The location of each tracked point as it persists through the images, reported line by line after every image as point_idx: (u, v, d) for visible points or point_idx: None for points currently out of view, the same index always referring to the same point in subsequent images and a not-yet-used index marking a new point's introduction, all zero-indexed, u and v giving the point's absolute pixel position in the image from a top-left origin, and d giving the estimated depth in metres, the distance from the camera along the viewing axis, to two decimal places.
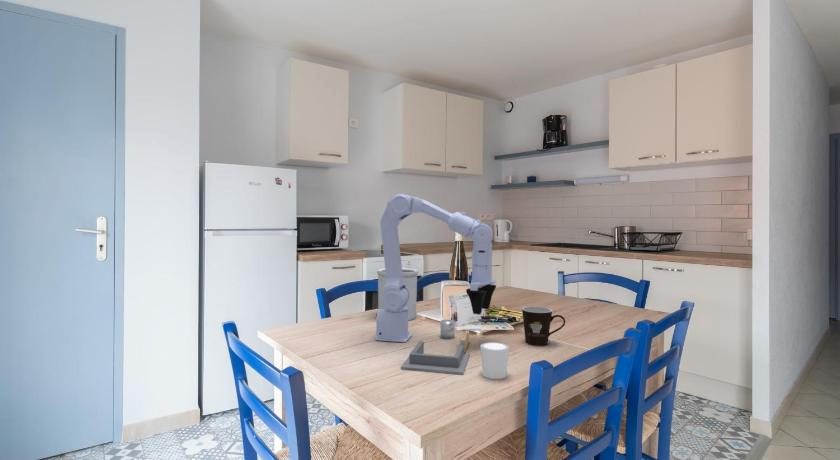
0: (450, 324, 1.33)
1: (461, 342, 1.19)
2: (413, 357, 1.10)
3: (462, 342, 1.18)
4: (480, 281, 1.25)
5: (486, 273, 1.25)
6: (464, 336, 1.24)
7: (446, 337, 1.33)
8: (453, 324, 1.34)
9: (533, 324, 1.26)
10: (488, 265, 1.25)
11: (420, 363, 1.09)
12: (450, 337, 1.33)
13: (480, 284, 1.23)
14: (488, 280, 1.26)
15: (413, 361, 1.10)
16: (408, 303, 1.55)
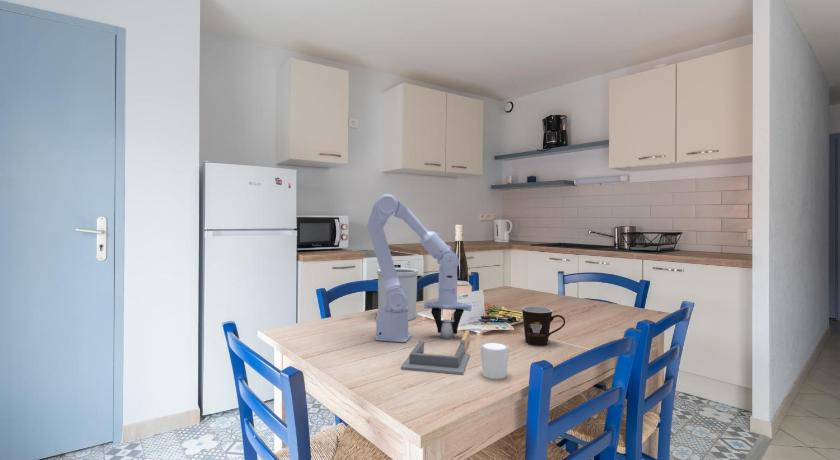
0: (450, 324, 1.33)
1: (461, 342, 1.19)
2: (413, 357, 1.10)
3: (462, 342, 1.18)
4: (438, 302, 1.35)
5: (440, 296, 1.33)
6: (464, 336, 1.24)
7: (446, 337, 1.33)
8: (453, 324, 1.34)
9: (533, 324, 1.26)
10: (455, 289, 1.33)
11: (420, 363, 1.09)
12: (450, 337, 1.33)
13: (430, 304, 1.35)
14: (441, 303, 1.33)
15: (413, 361, 1.10)
16: (408, 303, 1.55)
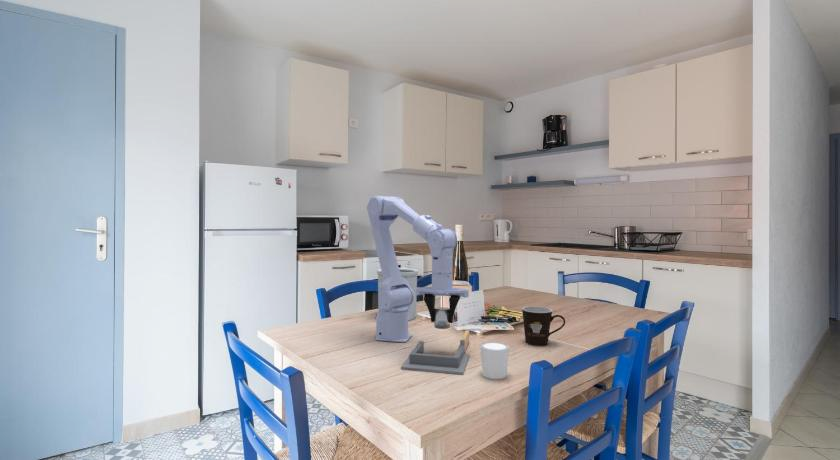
0: (445, 312, 1.19)
1: (461, 342, 1.19)
2: (413, 357, 1.10)
3: (462, 342, 1.18)
4: (431, 288, 1.20)
5: (433, 280, 1.19)
6: (464, 336, 1.24)
7: (441, 326, 1.19)
8: (448, 312, 1.19)
9: (533, 324, 1.26)
10: (442, 273, 1.17)
11: (420, 363, 1.09)
12: (445, 326, 1.19)
13: (422, 290, 1.20)
14: (435, 288, 1.18)
15: (413, 361, 1.10)
16: None
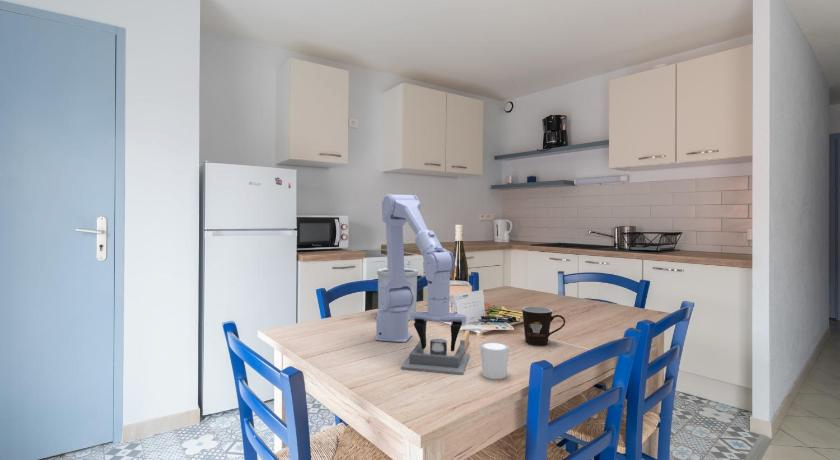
0: (441, 345, 1.12)
1: (461, 342, 1.19)
2: (413, 357, 1.10)
3: (462, 342, 1.18)
4: (427, 313, 1.14)
5: (429, 305, 1.12)
6: (464, 336, 1.24)
7: None
8: (445, 344, 1.13)
9: (533, 324, 1.26)
10: (436, 298, 1.11)
11: (420, 363, 1.09)
12: None
13: (417, 315, 1.14)
14: (431, 314, 1.12)
15: (413, 361, 1.10)
16: None
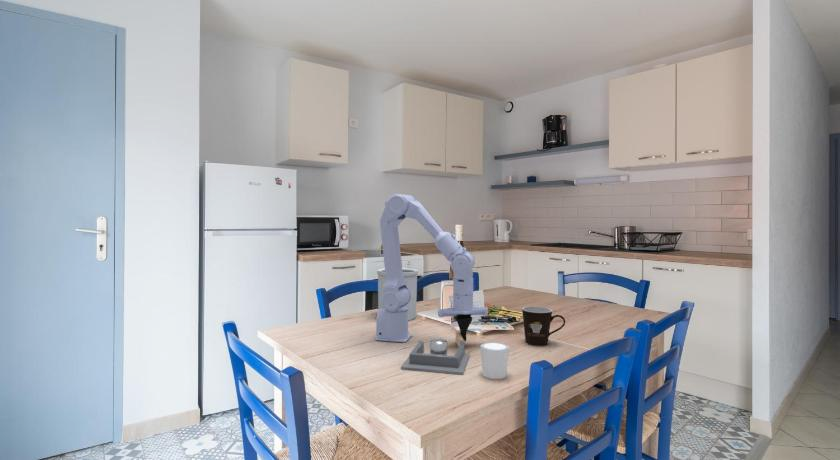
0: (441, 345, 1.12)
1: (461, 342, 1.19)
2: (413, 357, 1.10)
3: (463, 342, 1.18)
4: (454, 309, 1.25)
5: (458, 302, 1.24)
6: (459, 336, 1.24)
7: None
8: (445, 345, 1.13)
9: (533, 324, 1.26)
10: (468, 294, 1.24)
11: (420, 363, 1.09)
12: None
13: (446, 312, 1.24)
14: (460, 310, 1.24)
15: (413, 361, 1.10)
16: (408, 303, 1.55)
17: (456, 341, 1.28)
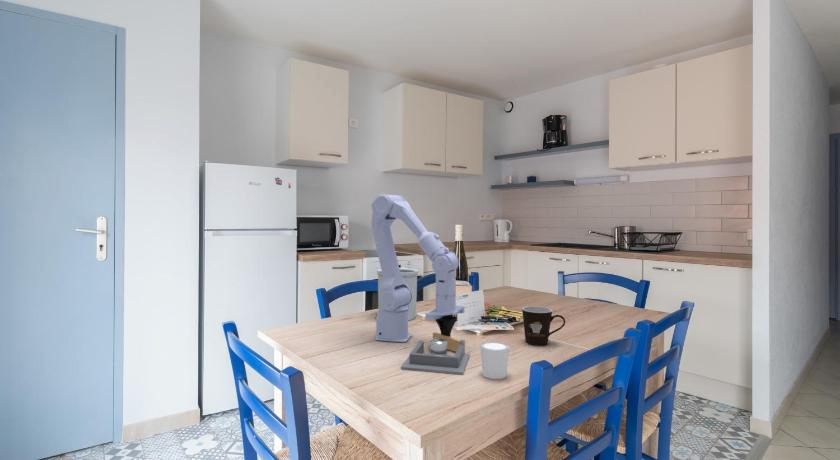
0: (441, 345, 1.12)
1: (463, 342, 1.18)
2: (413, 357, 1.10)
3: (464, 342, 1.19)
4: (440, 311, 1.23)
5: (445, 303, 1.22)
6: (449, 337, 1.23)
7: None
8: (445, 344, 1.13)
9: (533, 324, 1.26)
10: (448, 295, 1.22)
11: (420, 363, 1.09)
12: None
13: (436, 314, 1.21)
14: (448, 310, 1.23)
15: (413, 361, 1.10)
16: None
17: None
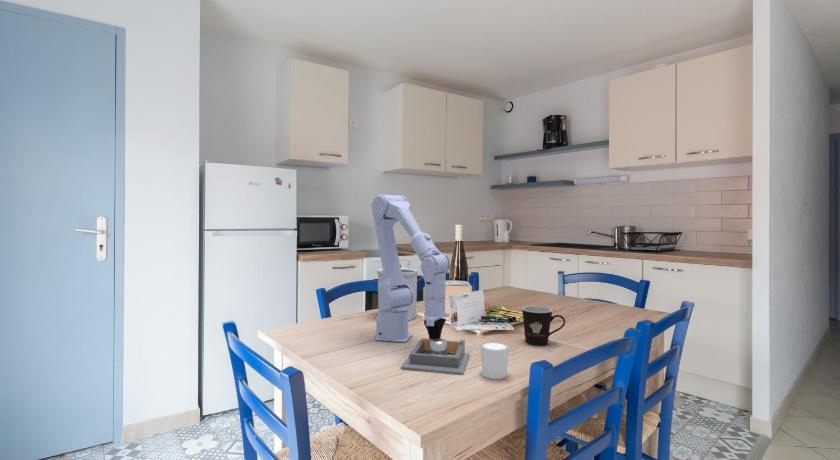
0: (441, 344, 1.12)
1: (464, 342, 1.19)
2: (413, 357, 1.10)
3: (464, 341, 1.19)
4: (435, 315, 1.19)
5: (440, 305, 1.19)
6: None
7: None
8: (444, 344, 1.13)
9: (533, 324, 1.26)
10: (435, 298, 1.19)
11: (420, 363, 1.09)
12: None
13: (436, 318, 1.17)
14: (442, 313, 1.20)
15: (413, 361, 1.10)
16: None
17: (428, 349, 1.21)
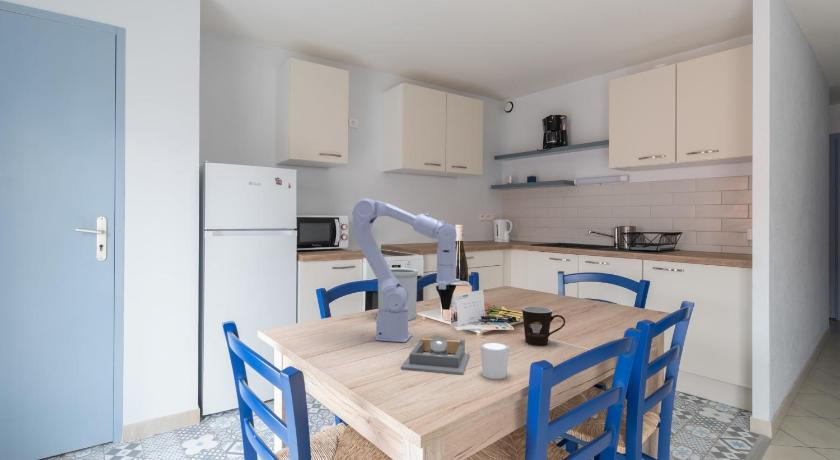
0: (441, 344, 1.12)
1: (464, 342, 1.19)
2: (413, 357, 1.10)
3: (464, 341, 1.19)
4: (446, 280, 1.29)
5: (451, 271, 1.29)
6: None
7: None
8: (444, 344, 1.13)
9: (533, 324, 1.26)
10: (452, 264, 1.29)
11: (420, 363, 1.09)
12: None
13: (447, 283, 1.26)
14: (453, 278, 1.30)
15: (413, 361, 1.10)
16: (408, 303, 1.55)
17: (428, 349, 1.21)
